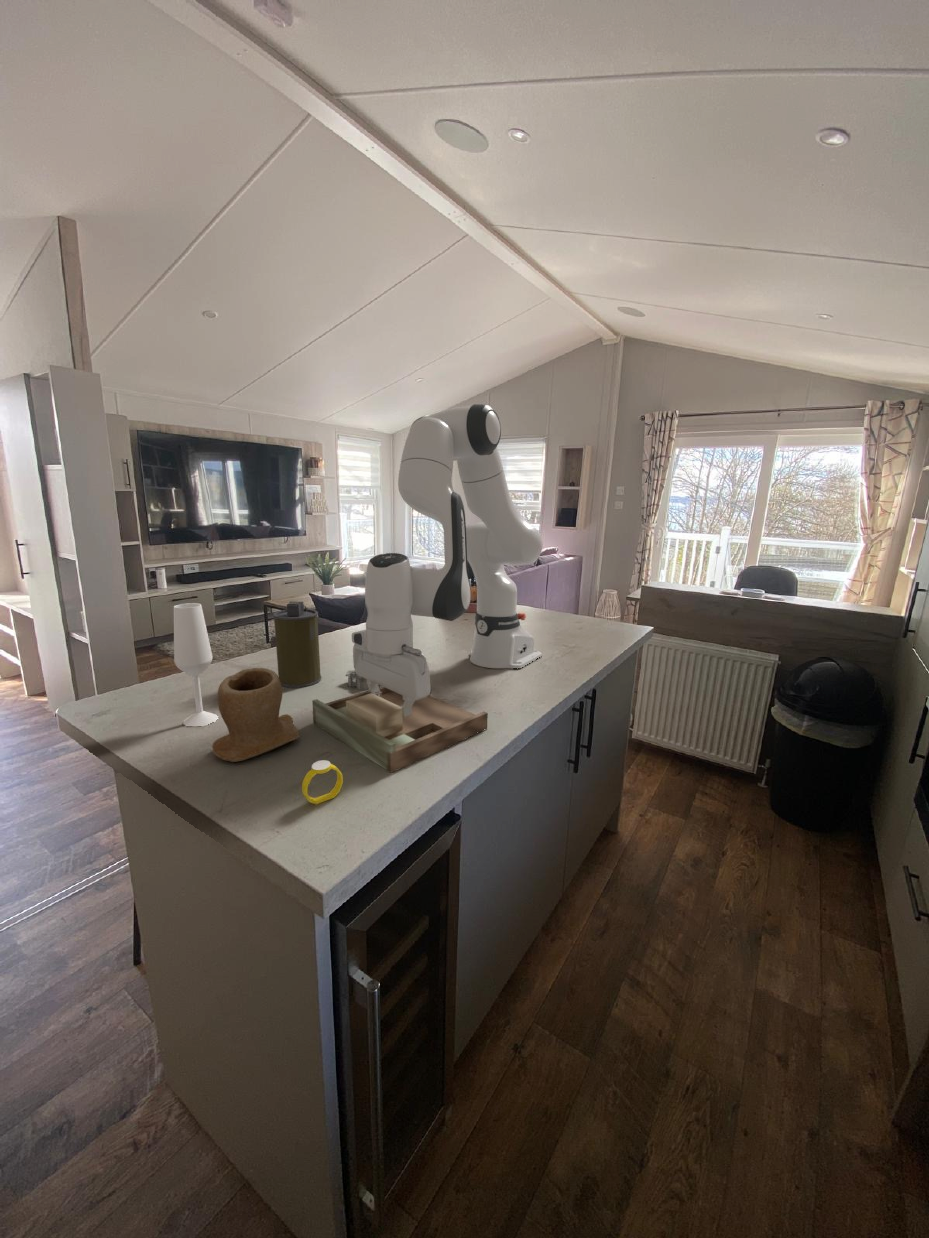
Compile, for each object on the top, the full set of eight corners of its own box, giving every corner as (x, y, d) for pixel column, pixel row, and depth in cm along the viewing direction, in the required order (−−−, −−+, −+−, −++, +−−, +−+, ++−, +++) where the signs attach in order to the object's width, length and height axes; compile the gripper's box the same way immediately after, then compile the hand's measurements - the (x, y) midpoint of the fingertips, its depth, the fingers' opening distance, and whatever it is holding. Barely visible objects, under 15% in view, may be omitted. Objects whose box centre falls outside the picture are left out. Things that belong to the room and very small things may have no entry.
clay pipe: (233, 776, 82) (225, 691, 78) (205, 751, 90) (196, 672, 86) (316, 745, 93) (311, 668, 89) (284, 725, 100) (279, 654, 97)
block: (372, 713, 102) (371, 693, 101) (402, 729, 95) (402, 707, 94) (346, 722, 98) (345, 700, 96) (376, 739, 91) (376, 716, 90)
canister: (314, 688, 120) (309, 607, 115) (271, 687, 120) (264, 606, 116) (327, 673, 131) (323, 598, 126) (287, 672, 131) (282, 597, 126)
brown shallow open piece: (406, 693, 118) (406, 673, 117) (487, 729, 100) (487, 705, 99) (313, 723, 101) (312, 700, 100) (391, 772, 84) (390, 745, 82)
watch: (309, 812, 73) (304, 776, 72) (302, 803, 75) (297, 768, 74) (346, 795, 77) (342, 761, 75) (338, 787, 79) (334, 754, 77)
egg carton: (361, 692, 119) (361, 676, 118) (343, 684, 123) (342, 669, 122) (395, 681, 126) (395, 666, 125) (376, 674, 131) (376, 659, 130)
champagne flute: (223, 721, 102) (211, 606, 96) (186, 730, 97) (171, 610, 92) (213, 710, 107) (201, 600, 101) (178, 719, 102) (164, 604, 97)
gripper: (438, 648, 90) (438, 719, 93) (372, 627, 104) (374, 689, 107) (411, 655, 86) (411, 729, 89) (346, 632, 100) (348, 697, 103)
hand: (390, 707), depth 98 cm, fingers open, 8 cm apart
